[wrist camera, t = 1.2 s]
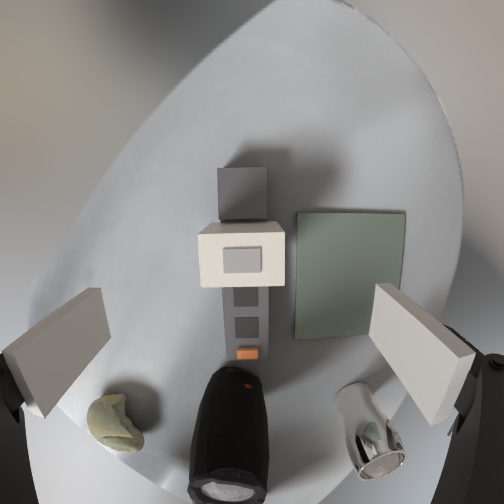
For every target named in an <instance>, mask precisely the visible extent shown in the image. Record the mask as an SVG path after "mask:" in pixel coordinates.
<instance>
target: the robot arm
mask: <svg viewBox="0 0 504 504" xmlns="http://www.w3.org/2000/svg"><path fill="white" fill-rule="evenodd" d="M369 337H370V338H371V340H372V341H373V342H374V344H375V345H376V347H377V348H378V349H379V351H380V352H381V354H382V355H383V356H384V358H385V359H386V361H387V362H388V363H389V365H390V366H391V368H392V369H393V371H394V372H395V373H396V375H397V376H398V378H399V379H400V381H401V382H402V384H403V385H404V387H405V388H406V389H407V391H408V392H409V394H410V395H411V397H412V398H413V400H414V401H415V403H416V404H417V406H418V407H419V409H420V410H421V412H422V413H423V415H424V416H425V418H426V419H427V421H428V423H429V424H430V425H433V424H436V423H439V422H442V421H445V420H447V419H448V418H449V415H450V414H451V412H452V410H453V408H454V407H455V408H456V409H457V410H458V412H459V413H458V415H457V417H456V419H455V421H454V423H453V425H452V427H451V428H450V430H449V432H448V434H447V435H448V436H449V435H450V434H451V432H452V431H453V433H452V437H451V441H450V445H449V449H448V453H447V456H446V460H445V463H444V467H443V470H442V473H441V476H440V479H439V482H438V485H437V488H436V491H435V493H434V496H433V499H432V501H431V504H504V356H503V355H500V354H488V355H483V354H482V353H481V352H480V351H479V350H478V349H476V348H475V347H474V346H473V345H472V344H471V343H469V342H468V341H466V339H465V338H463V337H462V336H460V334H458V333H457V332H456V331H455V330H454V329H452V328H450V327H448V326H446V325H444V324H441V323H440V322H439V321H438V320H436V319H435V318H434V317H433V316H432V315H430V314H429V313H428V312H427V311H425V310H424V309H423V308H422V307H420V306H419V305H418V304H416V303H415V302H414V301H413V300H411V299H410V298H409V297H408V296H406V295H405V294H404V293H402V292H401V291H400V290H398V289H397V288H396V287H395V286H393V285H392V284H391V283H381V284H376V287H375V295H374V303H373V311H372V318H371V324H370V330H369ZM110 338H111V334H110V330H109V326H108V322H107V317H106V313H105V308H104V303H103V298H102V292H101V288H87V289H86V290H84V291H83V292H81V293H80V294H78V295H77V296H75V297H74V298H73V299H71V300H70V301H68V302H67V303H65V304H64V305H63V306H61V307H60V308H58V309H57V310H55V311H54V312H53V313H51V314H50V315H49V316H47V317H46V318H44V319H43V320H42V321H40V322H39V323H38V324H36V325H35V326H34V327H32V328H31V329H30V330H28V331H27V332H26V333H24V334H23V335H22V336H20V337H19V338H18V339H16V340H15V341H14V342H13V343H11V344H10V345H9V346H7V347H6V348H5V349H4V350H2V353H1V354H0V504H39V503H38V499H37V495H36V491H35V486H34V482H33V477H32V472H31V467H30V461H29V455H28V448H27V440H26V431H25V418H24V412H23V410H22V408H21V405H22V403H23V402H24V401H25V403H26V405H27V407H28V408H29V410H30V412H31V413H32V414H34V415H37V416H39V417H41V418H44V419H45V418H46V416H47V415H48V414H49V413H50V411H51V410H52V408H53V407H54V406H55V405H56V404H57V402H58V401H59V400H60V398H61V397H62V396H63V395H64V393H65V392H66V391H67V390H68V388H69V387H70V386H71V385H72V384H73V382H74V381H75V380H76V379H77V377H78V376H79V375H80V374H81V373H82V371H83V370H84V369H85V368H86V367H87V365H88V364H89V363H90V362H91V361H92V359H93V358H94V357H95V356H96V355H97V353H98V352H99V351H100V350H101V349H102V348H103V346H104V345H105V344H106V343H107V342H108V341H109V339H110ZM192 501H193V504H202V503H197V502H196V501H194V500H193V499H192ZM205 504H206V503H205Z"/></svg>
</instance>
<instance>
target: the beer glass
mask: <svg viewBox="0 0 504 504" xmlns="http://www.w3.org/2000/svg"><path fill="white" fill-rule="evenodd" d="M335 406H336V408H337V409H338V411H339V412H340V413H341V415H342V417H343V421H344V429H345V440H346V446H347V450H348V454H349V457H350V459H351V462H352V464H353V467H354V469H355V471H356V473H357V475H358V478H359V479H360V480H363V481H371V480H376V479H379V478H382V477H384V476H387V475H389V474H391V473H392V472H394V471H395V470H397V469H398V468H399V467H400V466H401V465H402V464H403V463H404V462H405V460H406V458H407V453H406V452H405V449H404V446H403V444H402V441H401V439H400V437H399V435H398V432H397V431H396V429H395V427H394V425H393V424H392V423H391V422H390V420H389V419H388V418H387V417H386V416H385V414H384V413H383V412H382V411H381V410H380V409H379V408H378V407H377V405H376V404H375V402H374V400H373V396H372V392H371V389H370V387H369V386H368V385H367V384H365V383H353V384H350V385H348V386H346V387H344V388H343V389H342V390H340V391H339V393H338V394H337V395H336V397H335Z"/></svg>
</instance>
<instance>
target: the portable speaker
mask: <svg viewBox="0 0 504 504" xmlns="http://www.w3.org/2000/svg"><path fill="white" fill-rule="evenodd" d="M268 468H269V442H268V422H267V413H266V407H265V401H264V395H263V391H262V384H261V382H260V380H259V377H255V376H253V375H252V374H250V373H248V372H245V371H242V370H239V369H237V368H236V367H235V366H233V367H223V368H221V369H220V370H218V371H217V372H216V373H214V374H213V375H212V377H211V379H210V381H209V383H208V385H207V387H206V390H205V393H204V395H203V398H202V400H201V403H200V406H199V411H198V415H197V420H196V425H195V429H194V434H193V439H192V444H191V450H190V468H189V481H190V482H189V486H188V490H187V491H188V493H189V495H190V498H191V499H193V500H194V501H196V502H197V503H202V504H205V503H206V504H263V503H264V500H265V497H266V492H267V478H268Z"/></svg>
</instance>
